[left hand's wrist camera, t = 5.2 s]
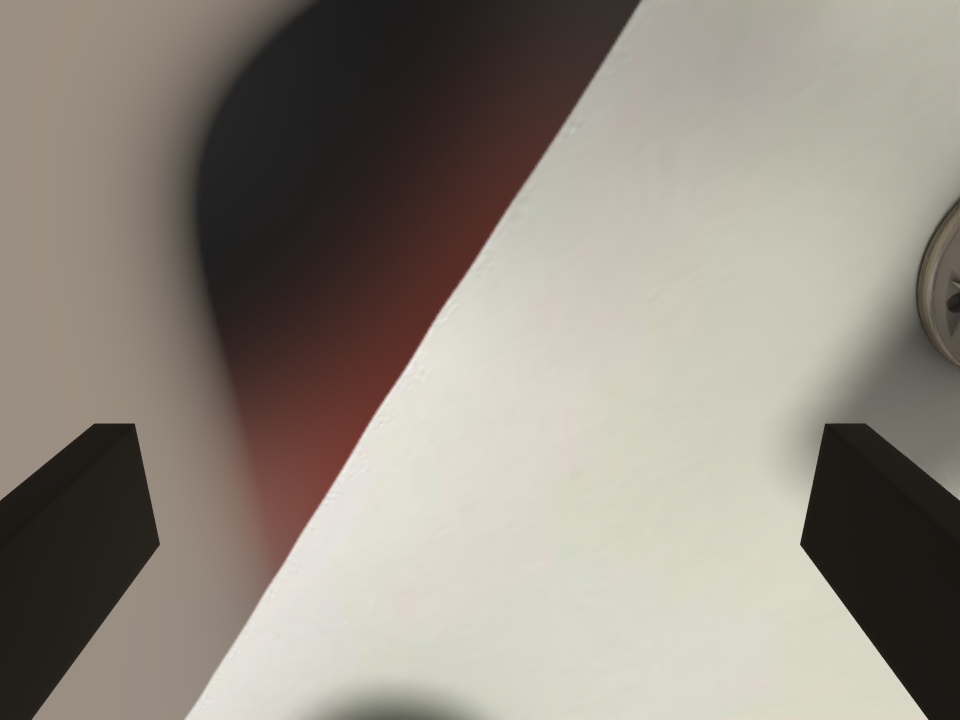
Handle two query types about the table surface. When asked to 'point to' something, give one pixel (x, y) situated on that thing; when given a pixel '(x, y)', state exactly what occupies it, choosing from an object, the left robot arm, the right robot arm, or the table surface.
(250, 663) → the table surface
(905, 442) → the table surface
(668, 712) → the table surface
